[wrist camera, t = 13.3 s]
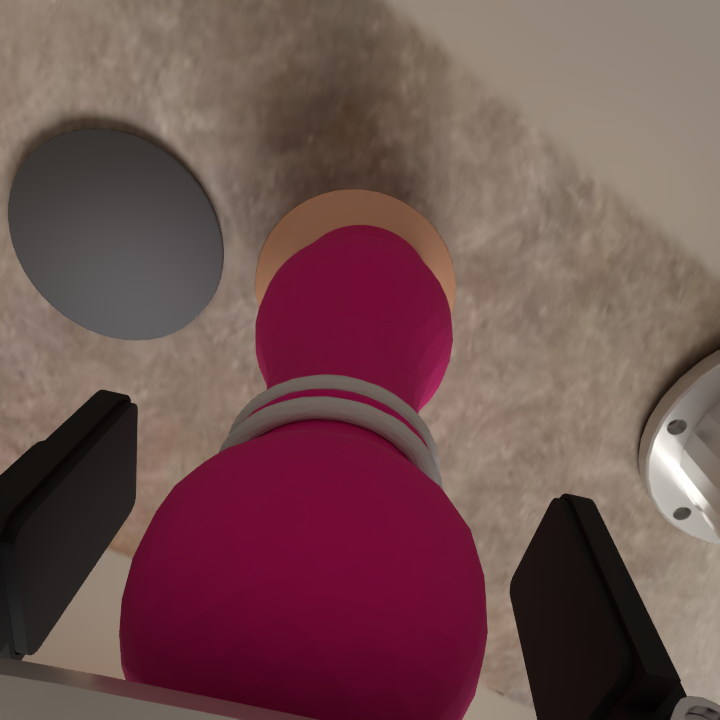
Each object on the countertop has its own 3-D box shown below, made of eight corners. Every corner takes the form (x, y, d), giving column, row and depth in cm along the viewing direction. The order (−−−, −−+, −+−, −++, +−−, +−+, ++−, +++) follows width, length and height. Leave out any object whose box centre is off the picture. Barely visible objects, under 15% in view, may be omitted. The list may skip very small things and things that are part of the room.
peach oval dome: (479, 213, 22) (482, 216, 21) (423, 390, 26) (424, 398, 25) (273, 164, 21) (269, 166, 21) (248, 352, 25) (244, 359, 25)
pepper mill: (474, 307, 23) (757, 1020, 5) (351, 391, 25) (248, 1081, 7) (373, 175, 21) (247, 627, 3) (248, 281, 23) (-252, 895, 5)
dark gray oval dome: (2, 116, 21) (-12, 115, 20) (225, 142, 21) (220, 143, 20) (37, 323, 24) (27, 329, 24) (225, 343, 25) (221, 350, 24)
